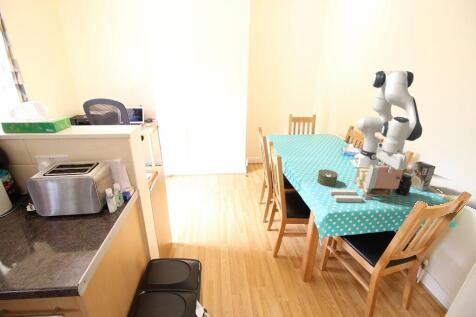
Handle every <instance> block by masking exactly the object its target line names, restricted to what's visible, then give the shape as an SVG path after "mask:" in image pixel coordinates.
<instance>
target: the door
mask: <svg viewBox="0 0 476 317" xmlns="http://www.w3.org/2000/svg"><path fill="white" fill-rule="evenodd" d="M389 168H390V167H389V165H387V166H383V165H378V166H376V165H370V168H369V172H368V176H367V181H366V185H365V186H366V187H367V188H368V189H374V188H390V189H393V190H395V189H398V186H399V183H400V179H401V176H402V174H404V173H403V172H404V170H396V169H393V170H392V173H388V172H387V169H389Z"/></svg>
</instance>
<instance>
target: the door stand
mask: <svg viewBox="0 0 476 317" xmlns="http://www.w3.org/2000/svg"><path fill="white" fill-rule="evenodd" d="M357 193H358V192H357V191H356V190H355V189H334V188H333V189H329V191H328V194H329V195H330V197H331V196H333V200H334V202H335V203H362V202H363V199H364V198H363V197H362V196H361V195H357Z"/></svg>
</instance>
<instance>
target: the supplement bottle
mask: <svg viewBox="0 0 476 317" xmlns="http://www.w3.org/2000/svg"><path fill="white" fill-rule="evenodd" d="M411 184H412V181H411V174H407V173H402V176H401V179H400V183H399V186H398V189H394V192H395V193H396V194H397V195H400V196H409V193H410V190H411V188H412V187H411Z"/></svg>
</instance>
